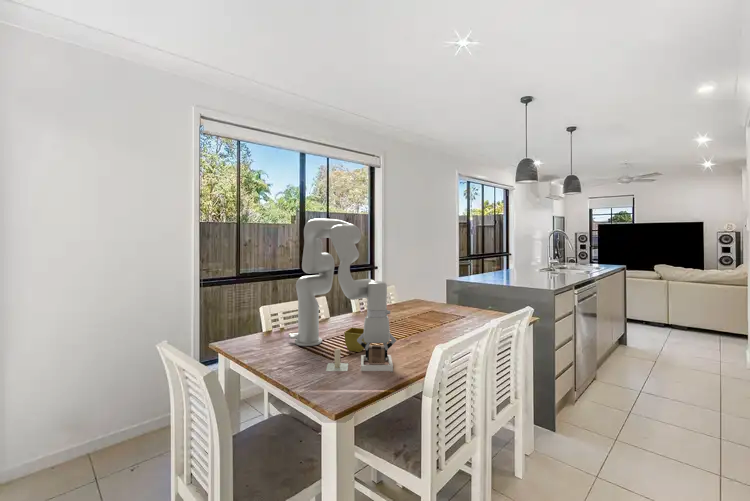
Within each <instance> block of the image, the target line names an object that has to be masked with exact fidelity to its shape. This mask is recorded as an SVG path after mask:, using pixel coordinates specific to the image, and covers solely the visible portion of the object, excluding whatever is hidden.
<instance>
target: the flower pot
mask: <svg viewBox="0 0 750 501" xmlns="http://www.w3.org/2000/svg"><path fill="white" fill-rule="evenodd" d="M363 333H364V328H361V327H360V328H359V327H350V328H348V329H347V330H345V331H344V333H343V334H344V342H345V347H346V349H347V350H348V351H350V352H357V353H360V352H362V351H364V350H365V349H364V348H363V347H362V346H361V344H359V343H358V342H357V339H358V338H359V337H360V336H361V335H362V334H363ZM362 341H363V342H364V338H363V339H362ZM364 343H365V344H366V342H364Z"/></svg>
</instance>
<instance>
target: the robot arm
mask: <svg viewBox="0 0 750 501" xmlns="http://www.w3.org/2000/svg"><path fill="white" fill-rule="evenodd" d="M361 237H362V232H361V229H360V228H359V227H358V226H357V225H355V224H353V223H349V222H347V221H344V220H342V219H335V218H313V219H310V220H308V221H307V222H306V223H305V225H304V228H303V240H304V242H303V249H302V250H303V252H302V258H301V259H302V260H301V261H302V262H301V269H302V271H303V272H304V273H306V274H312V275H303V276H301V277H299V278H298V279H297V280H296V283H295V290H296V294H297V310H298V311H297V319H298V320H297V327H298V328H297V330H298V331H297V332H296V333H289V334H288V338H289V339H291V340H292V339H294V344H295V345H297V346H300V347H312V346H317V345H320V344H321V343H323V339H322V338H321V337H320V336H319V335H320V334H319V332H320V330H319V324H320V323H319V322H320V321H319V320H320V317H319V313H320V311H319V310H320V309H319V308H320V307H319V301H318V300H317V298H316V296H319V295H325V294H327V293H329V292H330V291H331V289H332V287H333V280H334V274H335V259H334V257H333V255H332V254H331V253H329V252H323V248H324V246H323V245H324V244H323V241H322V238H325V239H327V238H328V239H330V240H331V244H332V245H333V248H334V250H335V252H336V254H337V257H338V258H339V265H338V269H337V270H338V271H337V281H338V283H339V286H340V289H341V290H342V293H343V295H344V296H345V297H346V298H347V299H348V300H353V301H355V300H360V299H367V300H366V301H367V302H366V309H367V310H366V315H365V317H364V322H363V329H364V333H363V334H362V335H361V336H360V337H359V338H358V339H357V342H358V343H359V344H361V346H362V347H363V348H364V350H365V355H366V358H367V362H369V345H371V344H382V346H384V349H385V360H384V362H386V358H387V355H388V350H390V348H391V347H392V345H394V344H395V343H396V342H397V338H395V337H394V335H393V334H392V333H391V331H390V329H391V328H390V319H389V316H388V315H390V314H391V310H388V309H387V307H388V303H387V302H388V296H387V295H388V294H387V293H388V285H387V283H386V282H385V281H379V280H377V281H376V280H375V279H372V278H362V279H354V278H353V277H352V273H351V270H350V268H351V264H353V263H354V262H356V261H357V260H359V257H360V252H359V250H358V248H357V246H356V244H358V243H359V242H360V241H361ZM363 338H364V342H366V344H365V343H364V342H363V341H362V339H363Z"/></svg>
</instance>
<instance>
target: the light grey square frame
mask: <svg viewBox="0 0 750 501" xmlns="http://www.w3.org/2000/svg"><path fill="white" fill-rule="evenodd" d="M392 359H393V358H392V355H391V354H387V358H386V361H387V362H388V364H364V361H367V358H366V354H361V355H360V372H390V373H394V365H393V364H394V363H393V360H392ZM386 361H385V362H386ZM367 362H368V361H367Z"/></svg>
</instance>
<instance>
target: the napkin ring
mask: <svg viewBox="0 0 750 501" xmlns="http://www.w3.org/2000/svg"><path fill="white" fill-rule="evenodd" d="M384 360H385V349H384V345H378V344H377V345H372V344H370V345H369V361H368V364H385V361H384Z"/></svg>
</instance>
